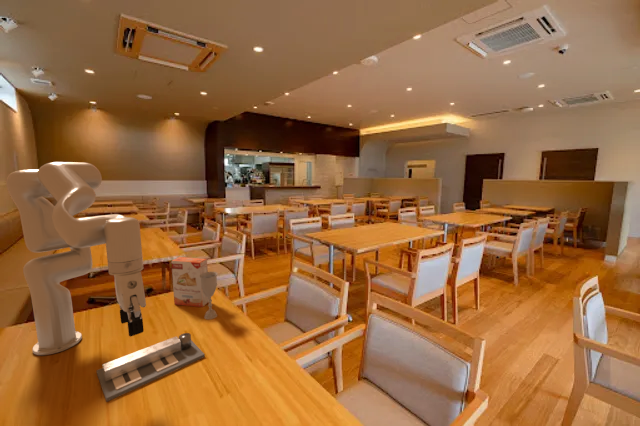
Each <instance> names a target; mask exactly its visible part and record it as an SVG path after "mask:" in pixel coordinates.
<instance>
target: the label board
mask: <svg viewBox="0 0 640 426" xmlns="http://www.w3.org/2000/svg"><path fill="white" fill-rule="evenodd" d="M177 338H178V339H179V337H177ZM203 358H206V357H205V353H204V352H203V350H201V348H200V347H198V345H197V344H195V342H194V341H193V340H192V339H191V347H190V348H188V349H186V350H180V351H177V352H175V353H173V354H170V355H168V356H165V357H163V358H161V359H158V360H156V361H153V362H151V363H149V364H146V365H144V366H141V367H139V368H137V369H134V370H132V371H129V372H127V373H125V374H122V375H120V376H117V377H115V378H113V379H110V380H108V381H106V380H105V377H104V374H103V367H101V368H99V369H96V375H97V378H98V381H99V383H100V387H101V389H102V393H103V395H104V399H105V402H106V403H107V402H108V403H109V401H112V400H114V399H116V398H118V397H120V396H123V395H125V394H127V393H129V392H131V391H133V390H136V389H138V388H141V387H142V386H144V385H147V384H149V383H151V382H153V381H155V380H157V379H160V378H161V377H164V376H166V375H168V374H170V373H173V372H175V371H177V370H179V369H181V368H184V367H186V366H188V365H190V364H193V363H194V362H196V361H199V360H200V359H203Z"/></svg>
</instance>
